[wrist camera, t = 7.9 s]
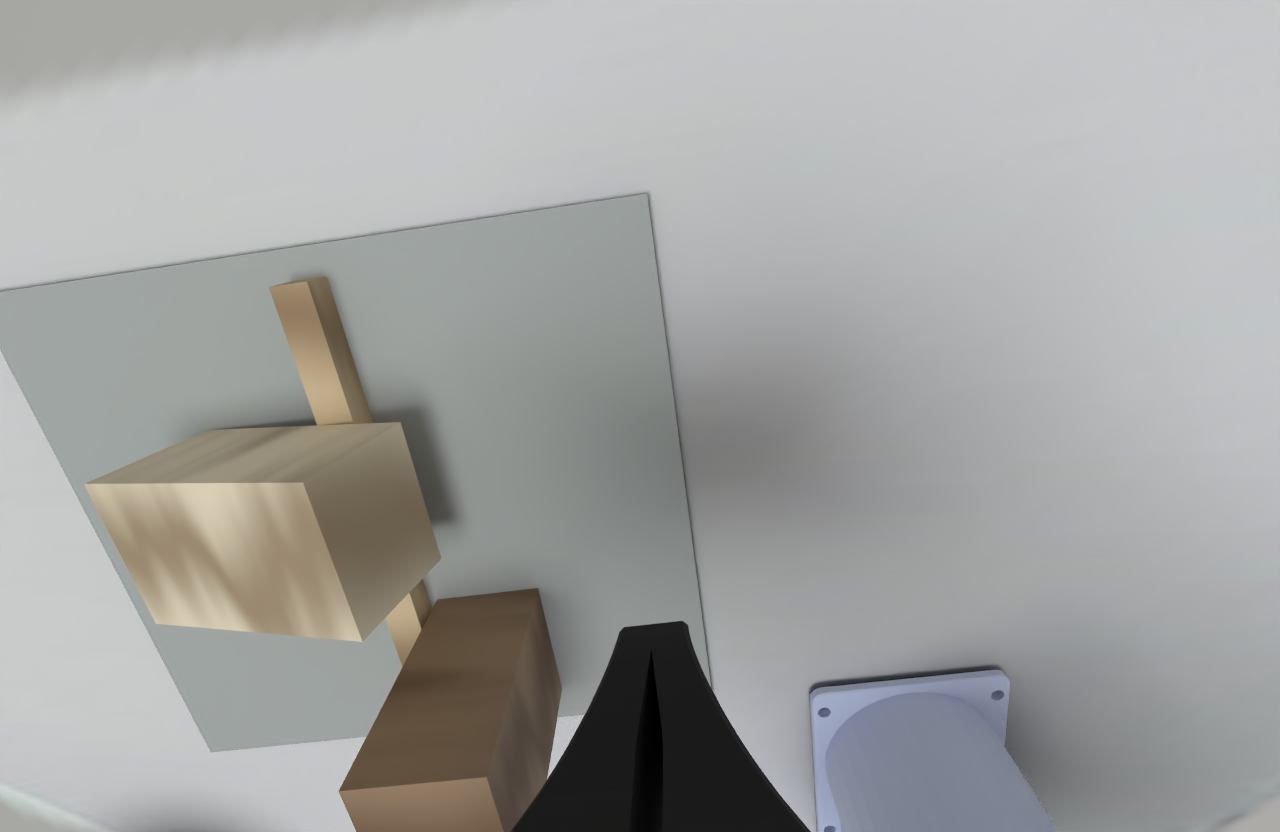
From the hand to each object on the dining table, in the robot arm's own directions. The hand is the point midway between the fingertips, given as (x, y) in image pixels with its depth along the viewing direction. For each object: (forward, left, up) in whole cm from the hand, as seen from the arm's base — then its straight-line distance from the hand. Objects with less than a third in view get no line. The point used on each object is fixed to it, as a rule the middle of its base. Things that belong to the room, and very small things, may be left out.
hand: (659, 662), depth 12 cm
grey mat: (-1, +10, -10) cm, 14 cm away
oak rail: (-1, +10, -10) cm, 14 cm away
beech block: (+1, +8, -6) cm, 10 cm away
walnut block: (-7, +7, -10) cm, 14 cm away
